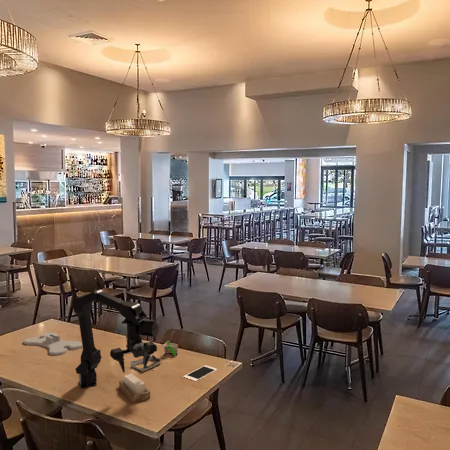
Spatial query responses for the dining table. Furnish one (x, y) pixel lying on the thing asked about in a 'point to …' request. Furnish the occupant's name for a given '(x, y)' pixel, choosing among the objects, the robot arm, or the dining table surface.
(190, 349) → the dining table surface
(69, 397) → the dining table surface
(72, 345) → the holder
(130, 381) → the white rectangular block
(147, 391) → the cradle
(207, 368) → the cell phone
